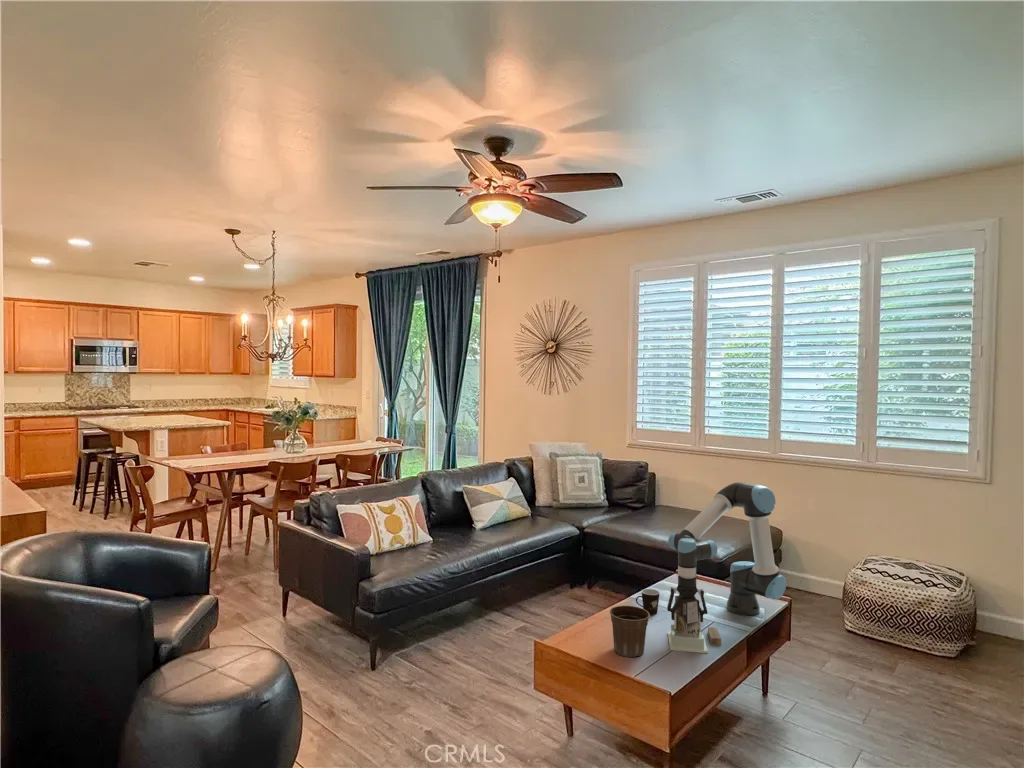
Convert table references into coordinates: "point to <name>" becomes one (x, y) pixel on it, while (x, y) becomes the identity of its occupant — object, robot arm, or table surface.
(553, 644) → the table surface
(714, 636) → the brown wooden block
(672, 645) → the mint green tray
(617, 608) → the plant pot
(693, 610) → the coffee box
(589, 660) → the table surface
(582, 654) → the table surface
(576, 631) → the table surface
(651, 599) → the coffee mug
